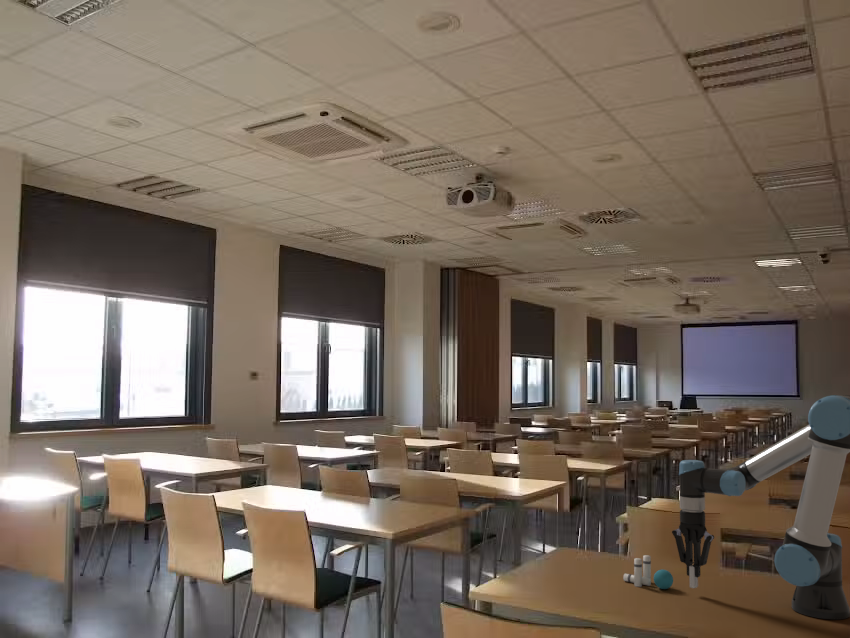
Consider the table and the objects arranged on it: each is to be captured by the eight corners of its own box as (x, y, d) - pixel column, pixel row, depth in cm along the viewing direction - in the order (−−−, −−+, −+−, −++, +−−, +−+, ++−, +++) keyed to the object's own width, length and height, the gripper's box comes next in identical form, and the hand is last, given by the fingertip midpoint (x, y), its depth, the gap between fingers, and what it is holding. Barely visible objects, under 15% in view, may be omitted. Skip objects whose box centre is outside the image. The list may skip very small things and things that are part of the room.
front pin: (649, 576, 247) (625, 571, 252) (647, 582, 245) (622, 577, 250) (651, 581, 248) (627, 576, 253) (649, 587, 246) (624, 582, 251)
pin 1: (643, 586, 246) (643, 559, 246) (637, 587, 244) (637, 560, 245) (638, 584, 248) (638, 557, 248) (632, 585, 247) (632, 558, 247)
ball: (652, 577, 248) (665, 592, 245) (647, 578, 243) (661, 593, 240) (665, 565, 247) (678, 580, 244) (661, 565, 242) (675, 581, 239)
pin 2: (652, 582, 250) (652, 556, 250) (646, 583, 249) (646, 557, 249) (647, 580, 252) (647, 554, 253) (641, 581, 251) (641, 555, 252)
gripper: (717, 511, 236) (719, 588, 235) (677, 506, 245) (679, 580, 244) (707, 514, 231) (709, 593, 229) (667, 508, 240) (668, 585, 238)
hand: (693, 587), depth 236 cm, fingers closed
